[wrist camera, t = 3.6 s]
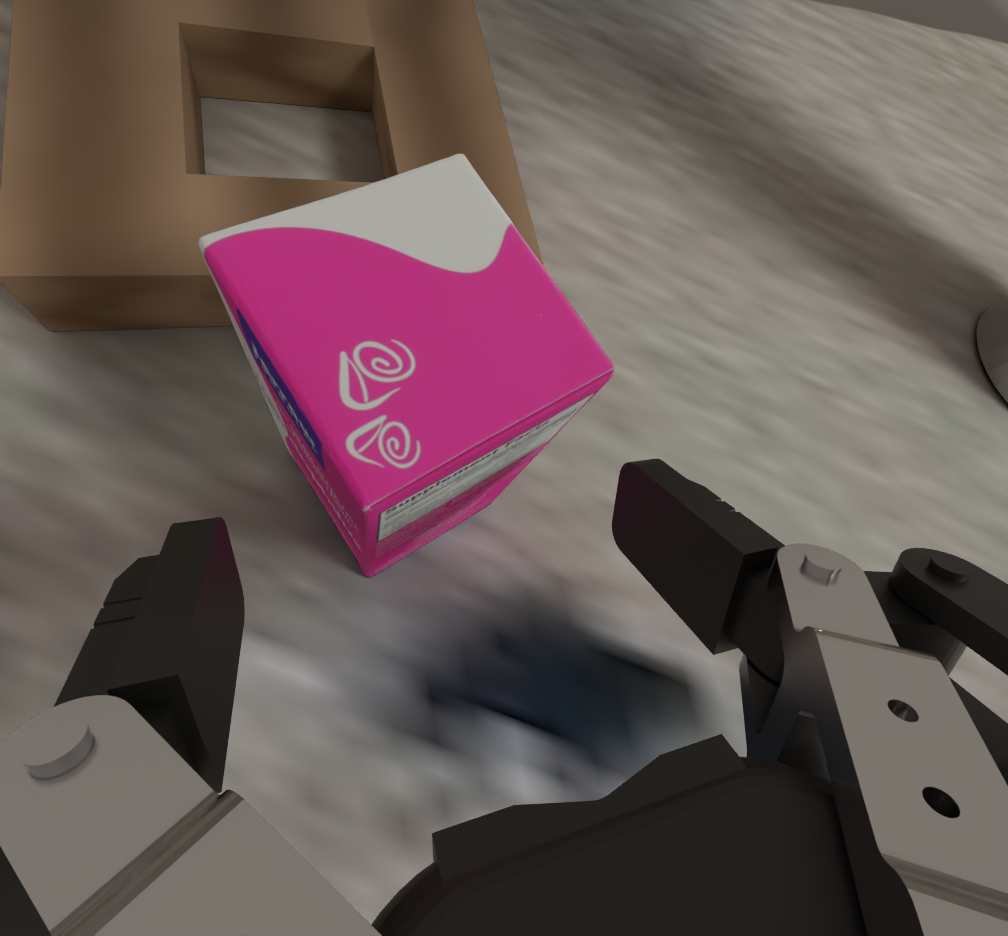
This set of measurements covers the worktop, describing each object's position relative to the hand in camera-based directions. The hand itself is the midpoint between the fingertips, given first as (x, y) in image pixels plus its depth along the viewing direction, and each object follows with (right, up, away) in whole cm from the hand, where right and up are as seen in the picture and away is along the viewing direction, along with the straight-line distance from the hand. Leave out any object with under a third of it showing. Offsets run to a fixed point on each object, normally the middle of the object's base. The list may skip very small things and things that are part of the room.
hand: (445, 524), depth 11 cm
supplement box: (-3, +1, +9) cm, 10 cm away
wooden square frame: (-8, +15, +13) cm, 21 cm away
